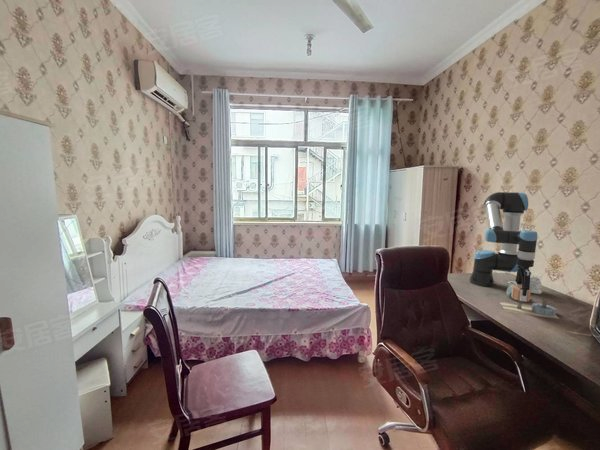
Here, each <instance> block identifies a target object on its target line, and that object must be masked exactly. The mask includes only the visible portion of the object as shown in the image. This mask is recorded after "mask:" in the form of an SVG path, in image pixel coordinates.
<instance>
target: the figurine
mask: <svg viewBox="0 0 600 450" xmlns="http://www.w3.org/2000/svg"><path fill="white" fill-rule="evenodd" d="M538 276H539V275H538V274H537V275H534V276H532V275H531V276H530V289H531V294H539V295H541V294H542V293H543V291H542V290H541V288H542V287H543V284H542V281H541V278H539V277H538Z"/></svg>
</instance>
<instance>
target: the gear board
mask: <svg viewBox="0 0 600 450" xmlns="http://www.w3.org/2000/svg"><path fill="white" fill-rule="evenodd" d="M499 303H500V305H501V306H502V308H503V310H504V311H505V312H508V313H509V312H510V313H516V314H523V315H528V316H533V317H534V316H535V317H541V318H547V319H548V318H549V319H555V320H560V317H558V316H557V315H555V316H544V315H541V314H537V313H535V312H534V311H532V310H531V307H532V305H524V304H523V301H520V300H518V301H517V303H511V302H503V301H499ZM547 303H548V300H547V299H542V303H541V304H542V307H544V308H546V305H548V304H547Z"/></svg>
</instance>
